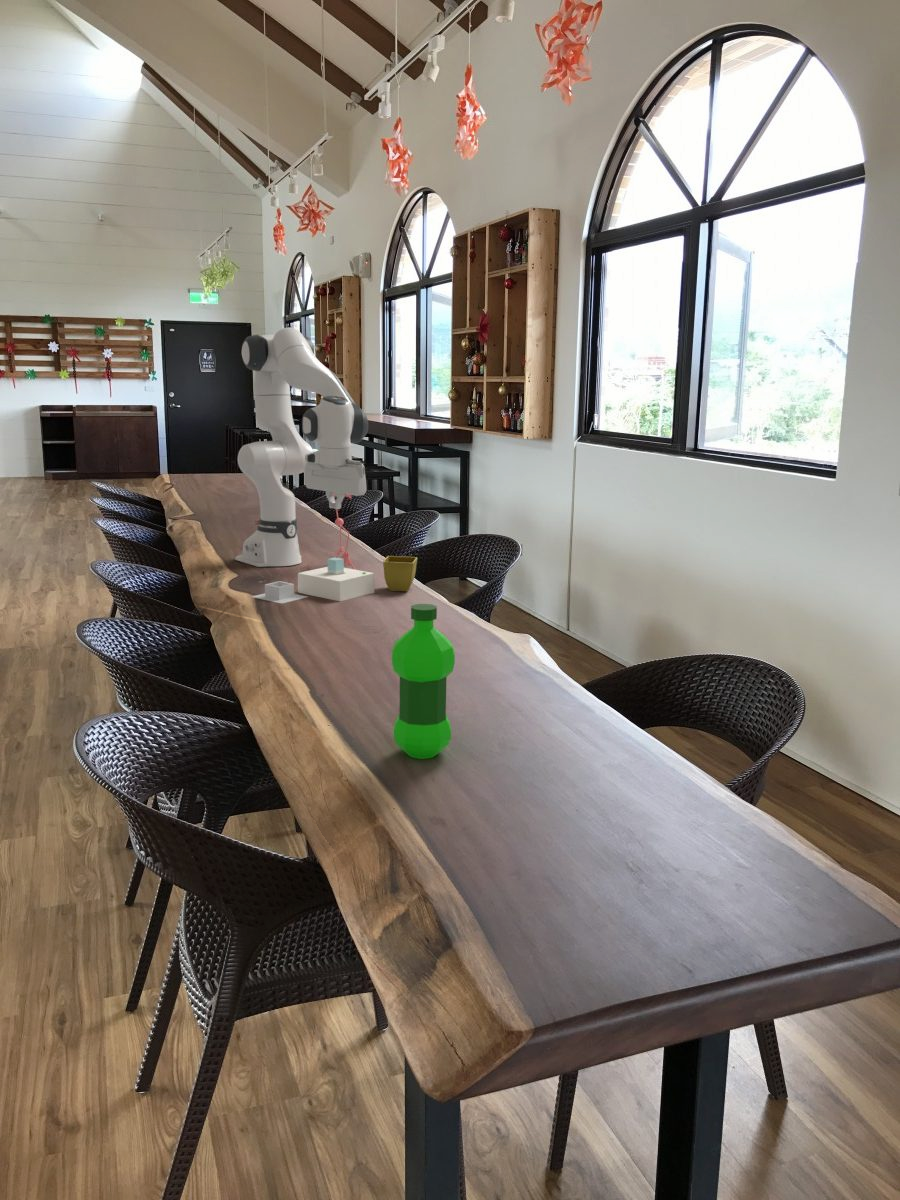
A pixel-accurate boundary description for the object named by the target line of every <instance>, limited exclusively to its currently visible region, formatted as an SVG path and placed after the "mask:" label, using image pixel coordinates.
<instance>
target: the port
mask: <svg viewBox="0 0 900 1200" xmlns="http://www.w3.org/2000/svg"><path fill="white" fill-rule="evenodd" d="M297 593H299V594H304V595H309V596H313V597H319V598H323V599H327V600H331V601H336V602H344V601H347V600H351V599H354V598H359V597H362V596H366V595H369V594H375V572H369V571H365V570H360V569H359V570H358V569H355V570H354V569H353V568H348V567H344V574H341V575H331V574H328V569H327V566H325V567H320V568H315V569H311V570H310V569H309V570H306V571H301V572H298V573H297Z"/></svg>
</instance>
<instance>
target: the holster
mask: <svg viewBox="0 0 900 1200" xmlns="http://www.w3.org/2000/svg"><path fill="white" fill-rule="evenodd" d="M250 597H251V598H255V599H260V600H264V601H268V602H273V603H277V604H285V603H290V602H294V601H299V600H301V599H306V598H308V596H307V595H302V594H297V593H295V584H294V583H290V582H286V581H274V582H270V583H266V584H264V593H260V594H257V595H252V596H250Z"/></svg>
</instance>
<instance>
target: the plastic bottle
mask: <svg viewBox="0 0 900 1200" xmlns="http://www.w3.org/2000/svg"><path fill="white" fill-rule="evenodd" d="M437 617H438V607H437V605H435V604H428V603H417V604H414V605H413V604H412V605H410V619H411V620H413V621H414V623H413V627H412V628H410V629H409V630H408V631H407V632H404V634H403V635H401V636H400V637H399V638H398V639H397V640H396V641H395V642H394V645H393V647H392V653H391V665H392V669H393V671H394V672H395V673H396V674H397V676H399V713H398V715H397V716H396V719H395V721H394V725H393V740H394V742H395V744H396V745H397V747H398V748H399V749H400V750H402V751H403V752H404V753H406V755H407V756H409V757H411V758H413V759H419V760H425V759H432V758H434V757H435V756H437V755H438V754H439V753H441V752H442V751H443V750H444V749H446V747H448V745H449V743H450V741H451V739H452V728H451V723H450V719H449V717H448V715H447V677H448V676H449V675H450V674H451V673H452V672H453V670H454V666H455V659H456V658H455V657H456V656H455V649H454V646H453V644H452V642H451V640H449V639H448V638H447V637H446V636H445V635H444V634H443V633H442V632H441V631H439V630H438V629H437V628H436V627H434V621H435V620H437Z"/></svg>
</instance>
